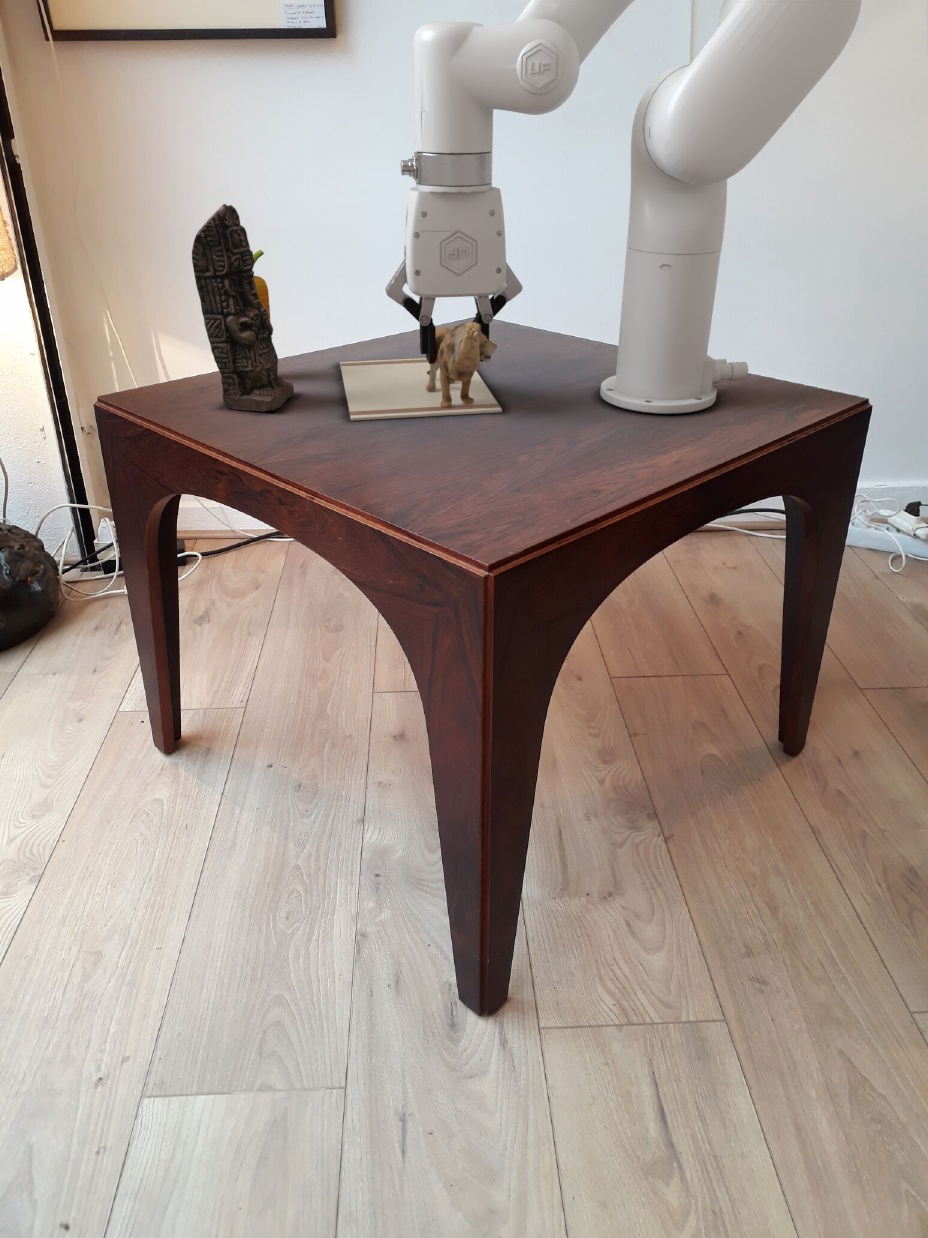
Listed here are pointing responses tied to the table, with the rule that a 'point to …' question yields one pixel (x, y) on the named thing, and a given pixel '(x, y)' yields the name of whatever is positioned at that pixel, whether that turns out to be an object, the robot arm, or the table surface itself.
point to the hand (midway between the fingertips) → (454, 357)
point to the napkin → (406, 391)
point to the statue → (236, 315)
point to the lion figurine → (458, 359)
